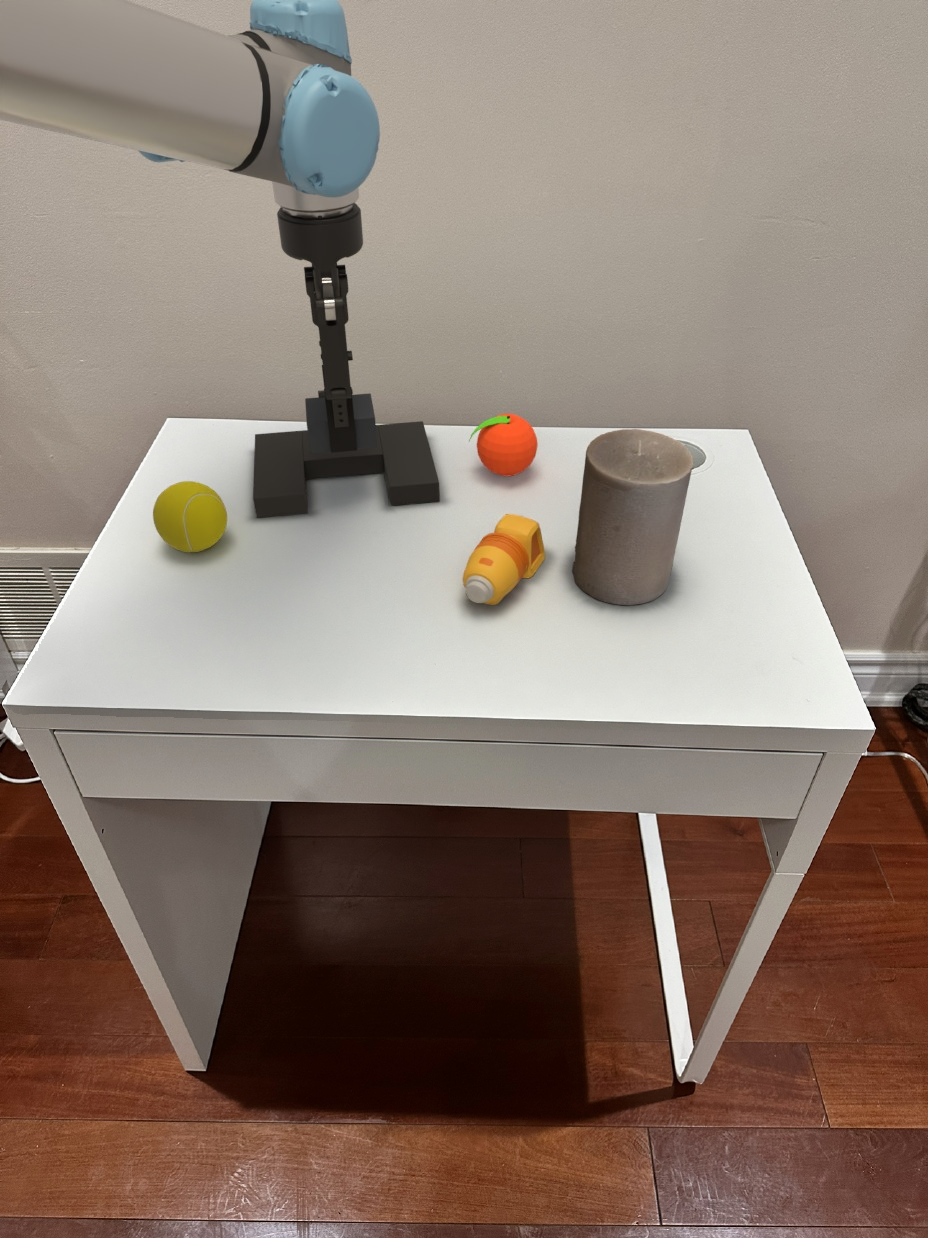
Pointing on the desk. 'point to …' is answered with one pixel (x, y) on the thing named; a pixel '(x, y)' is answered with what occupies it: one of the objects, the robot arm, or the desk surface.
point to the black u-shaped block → (342, 467)
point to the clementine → (506, 444)
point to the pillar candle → (630, 515)
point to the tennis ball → (190, 516)
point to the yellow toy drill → (503, 559)
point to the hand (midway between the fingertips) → (342, 434)
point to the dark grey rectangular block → (319, 423)
